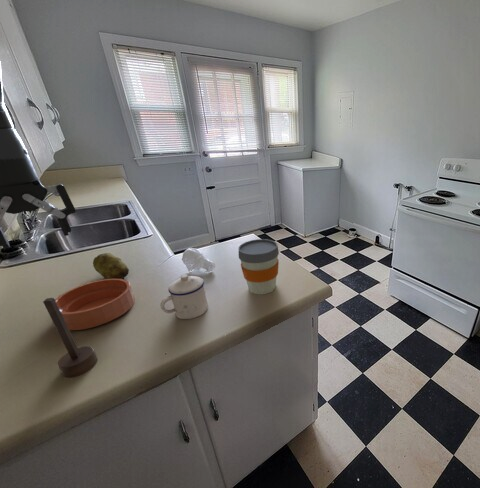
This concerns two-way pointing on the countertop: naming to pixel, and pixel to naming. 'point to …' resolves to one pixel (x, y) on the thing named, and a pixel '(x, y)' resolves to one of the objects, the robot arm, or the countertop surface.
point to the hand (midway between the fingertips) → (38, 240)
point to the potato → (110, 266)
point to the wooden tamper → (70, 345)
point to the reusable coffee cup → (259, 264)
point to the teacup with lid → (187, 297)
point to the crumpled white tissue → (196, 260)
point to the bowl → (95, 303)
